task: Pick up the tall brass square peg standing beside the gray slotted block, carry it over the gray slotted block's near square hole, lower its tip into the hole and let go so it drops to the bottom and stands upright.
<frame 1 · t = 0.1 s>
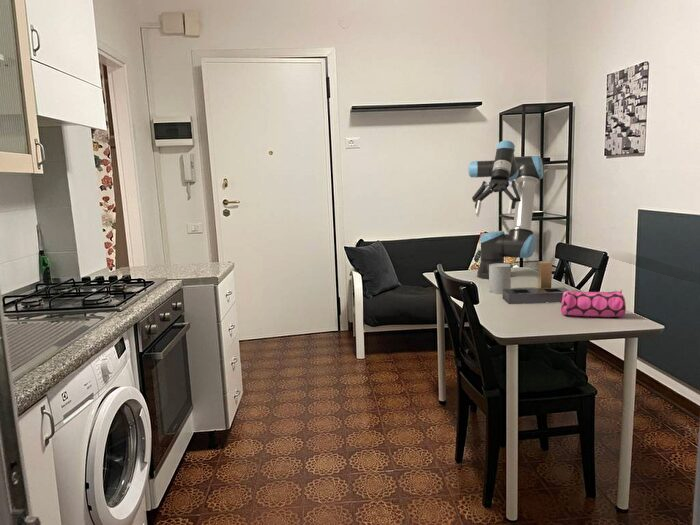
hand: (493, 215, 224), 36 cm above the table, tool tilted 35°, fingers open, 13 cm apart
gray cylinder: (499, 292, 242), on the table
brass peg: (544, 293, 235), on the table
pencil case: (591, 316, 198), on the table
gray slotted block: (536, 300, 224), on the table
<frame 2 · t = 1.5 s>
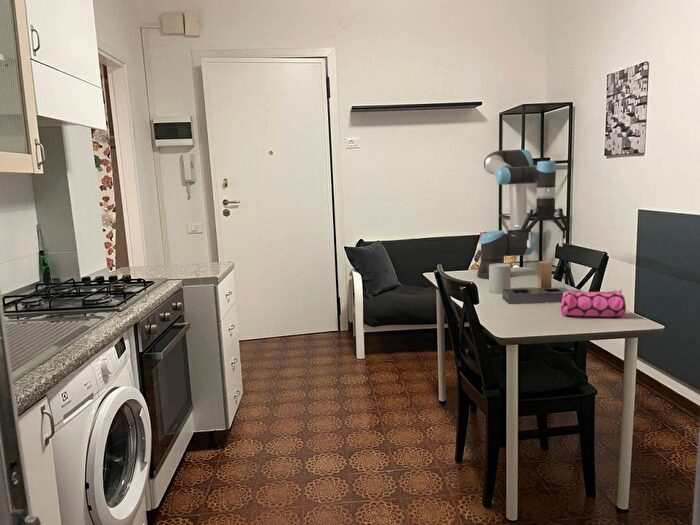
hand: (544, 246, 232), 21 cm above the table, tool pointing down, fingers open, 13 cm apart
nothing on the table moved.
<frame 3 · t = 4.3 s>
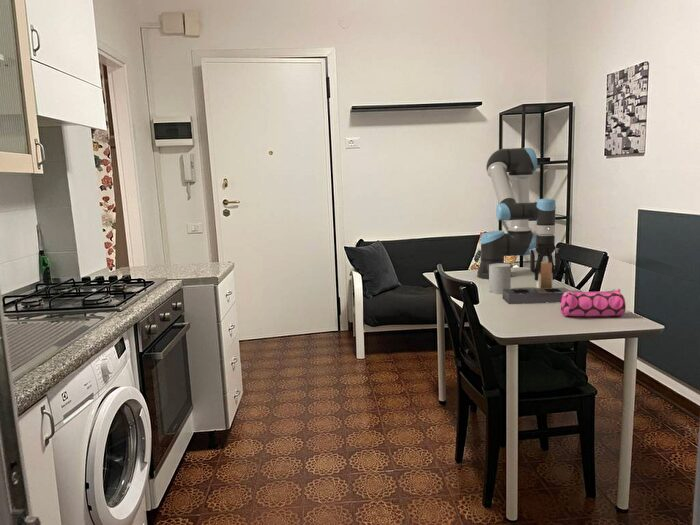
hand: (544, 287, 235), 3 cm above the table, tool pointing down, fingers closed on brass peg, 4 cm apart
brass peg: (544, 293, 235), on the table, touching gripper
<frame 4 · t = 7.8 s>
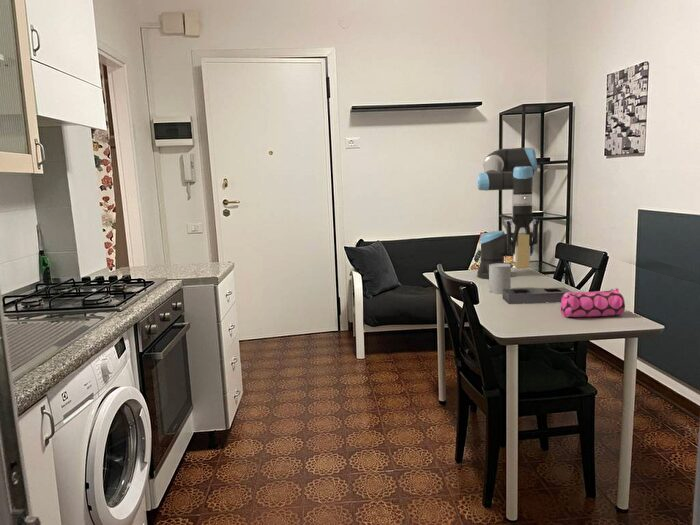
hand: (521, 261, 221), 17 cm above the table, tool pointing down, fingers closed on brass peg, 4 cm apart
brass peg: (521, 267, 221), point 14 cm above the table, touching gripper
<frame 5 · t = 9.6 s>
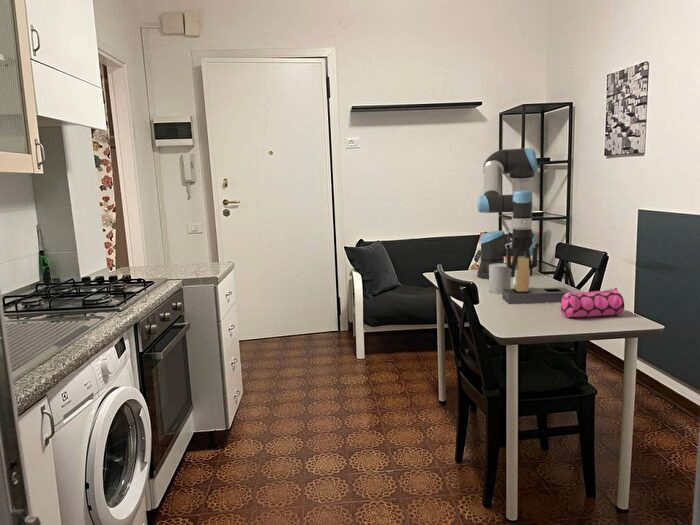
hand: (521, 284, 223), 7 cm above the table, tool pointing down, fingers closed on brass peg, 4 cm apart
brass peg: (521, 290, 223), point 4 cm above the table, touching gripper
when the fingers open (6 cm above the table, at t = 11.3 s): brass peg drops 3 cm, resting in gray slotted block.
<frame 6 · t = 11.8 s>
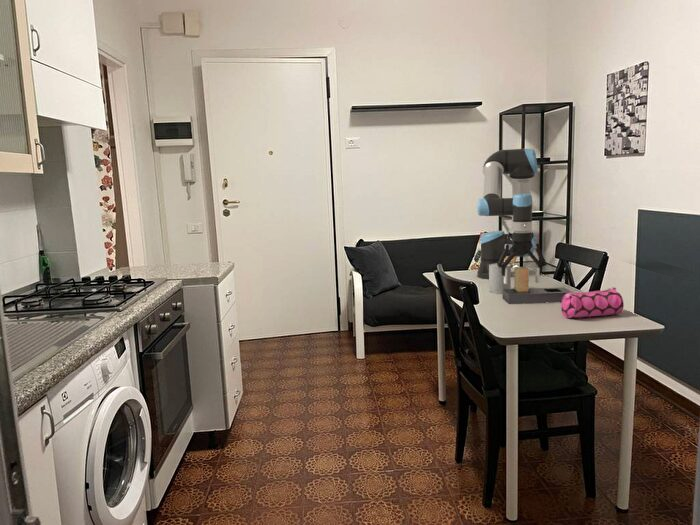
hand: (521, 283, 223), 8 cm above the table, tool pointing down, fingers open, 12 cm apart
brass peg: (521, 300, 224), resting in gray slotted block
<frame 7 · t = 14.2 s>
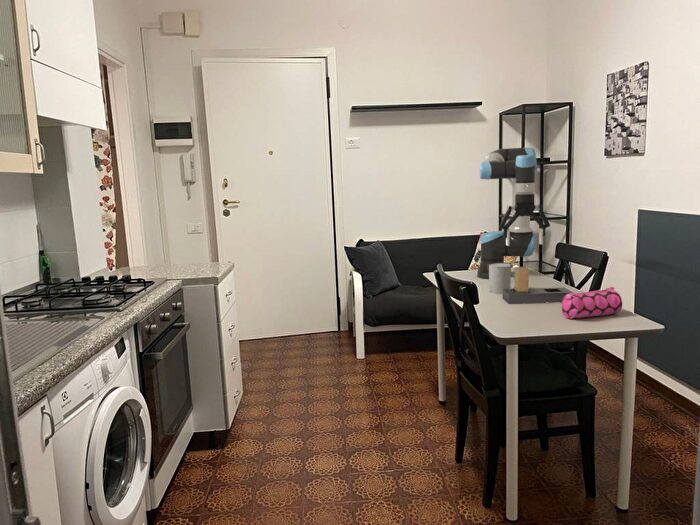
hand: (524, 244, 222), 23 cm above the table, tool pointing down, fingers open, 13 cm apart
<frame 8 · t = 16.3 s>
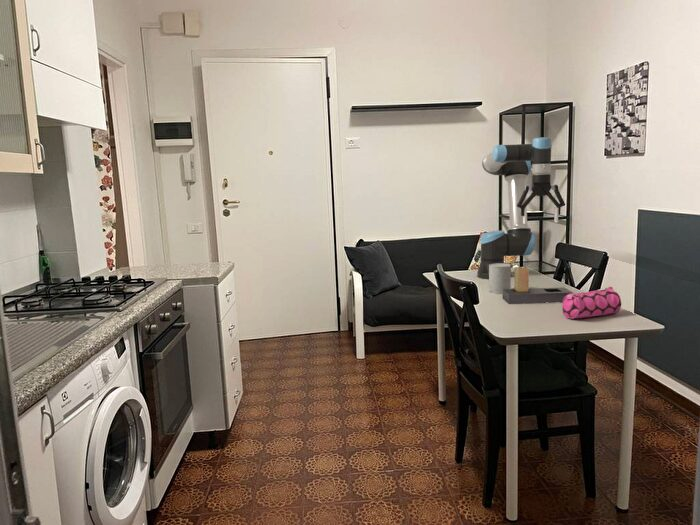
hand: (540, 223, 234), 31 cm above the table, tool pointing down, fingers open, 13 cm apart
at the end: brass peg 0.0 cm from the target spot on the gray slotted block, point 0.0 cm above the gray slotted block's base; brass peg tilted 0°; the gripper is holding nothing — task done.
